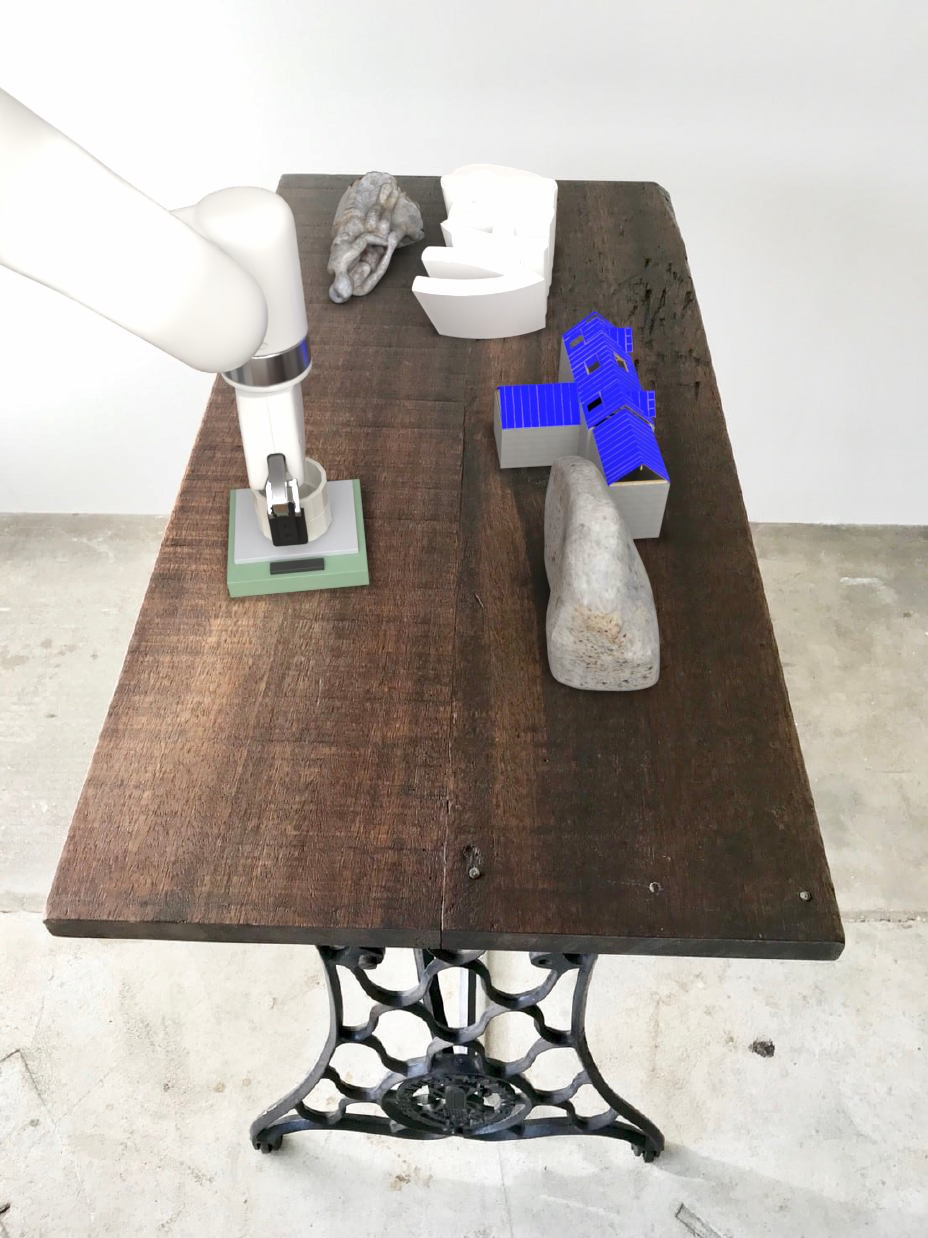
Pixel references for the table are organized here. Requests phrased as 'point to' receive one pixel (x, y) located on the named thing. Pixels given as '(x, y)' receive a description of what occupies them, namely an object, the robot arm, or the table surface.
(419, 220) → the sculpture
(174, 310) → the robot arm
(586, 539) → the decorative stone
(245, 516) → the scale
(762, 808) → the table surface
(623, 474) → the house model
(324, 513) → the white cup
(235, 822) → the table surface
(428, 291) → the wavy white extrusion
